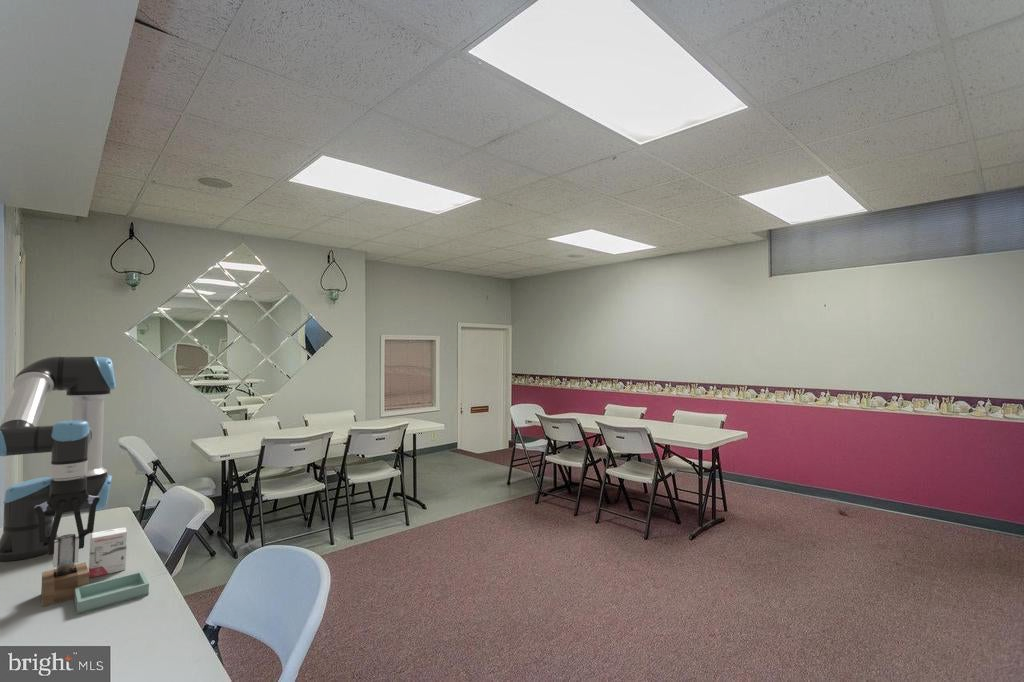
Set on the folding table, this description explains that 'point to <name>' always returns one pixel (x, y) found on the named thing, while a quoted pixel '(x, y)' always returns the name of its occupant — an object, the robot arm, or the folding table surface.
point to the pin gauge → (66, 555)
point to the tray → (110, 592)
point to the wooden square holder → (62, 584)
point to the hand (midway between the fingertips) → (65, 563)
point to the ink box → (107, 552)
